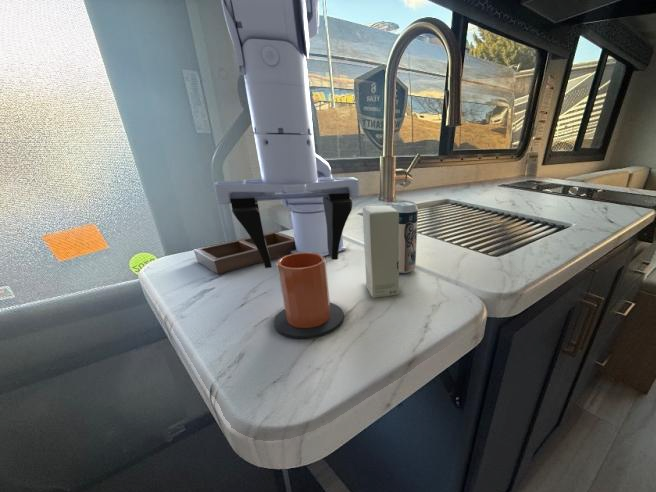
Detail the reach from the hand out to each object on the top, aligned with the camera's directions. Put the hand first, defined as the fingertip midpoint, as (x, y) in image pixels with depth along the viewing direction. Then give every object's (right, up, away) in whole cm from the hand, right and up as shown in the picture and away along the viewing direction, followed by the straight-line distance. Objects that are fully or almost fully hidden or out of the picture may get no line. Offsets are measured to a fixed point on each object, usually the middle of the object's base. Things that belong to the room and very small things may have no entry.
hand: (301, 260), depth 38 cm
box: (+9, -3, +12) cm, 16 cm away
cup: (0, -7, +4) cm, 8 cm away
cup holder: (-18, +4, +25) cm, 31 cm away
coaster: (0, -7, +4) cm, 8 cm away
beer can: (+12, +1, +20) cm, 24 cm away
